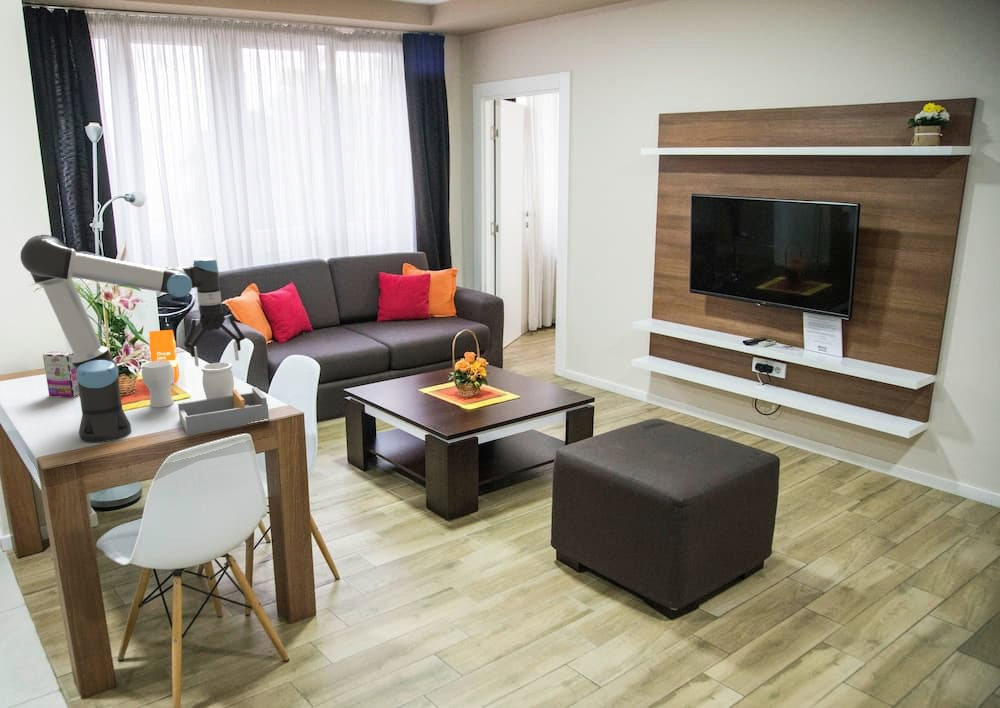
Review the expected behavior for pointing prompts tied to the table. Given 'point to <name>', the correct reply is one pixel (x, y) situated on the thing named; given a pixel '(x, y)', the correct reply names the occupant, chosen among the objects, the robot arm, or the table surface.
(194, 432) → the gray open tray
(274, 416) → the table surface
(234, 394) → the block
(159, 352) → the orange juice
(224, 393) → the jar
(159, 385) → the cup
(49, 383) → the candy bar box
